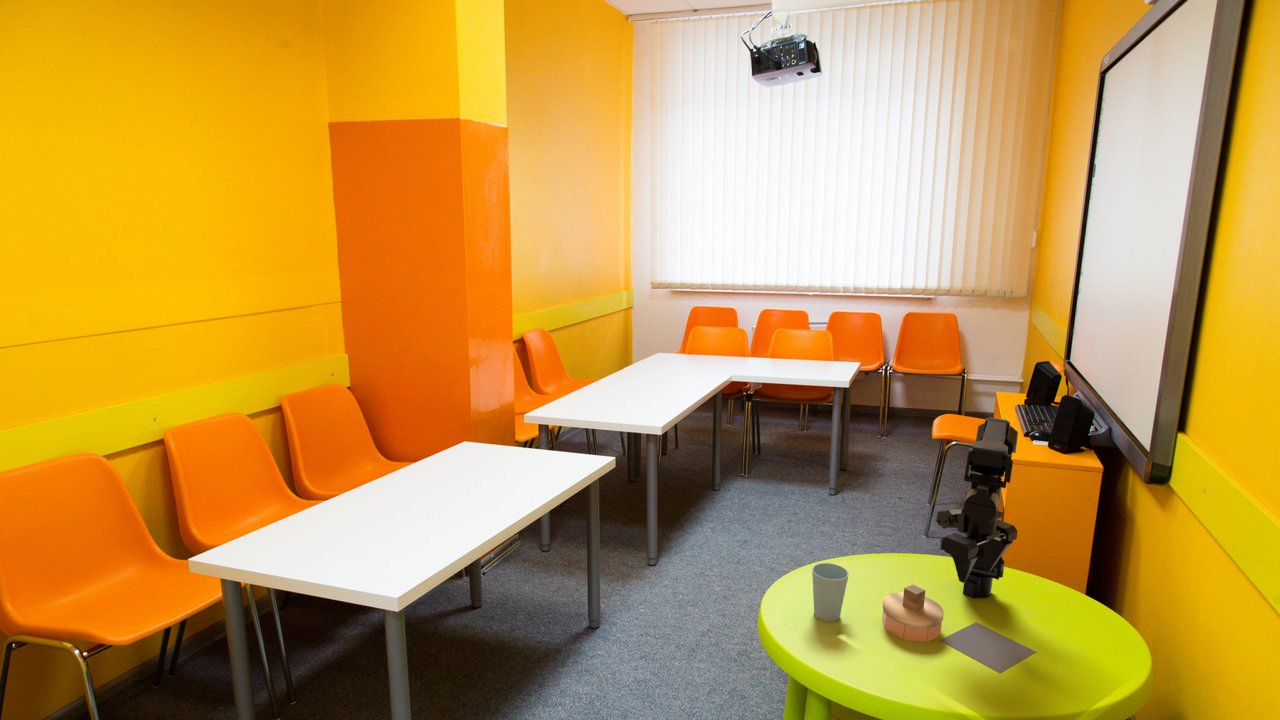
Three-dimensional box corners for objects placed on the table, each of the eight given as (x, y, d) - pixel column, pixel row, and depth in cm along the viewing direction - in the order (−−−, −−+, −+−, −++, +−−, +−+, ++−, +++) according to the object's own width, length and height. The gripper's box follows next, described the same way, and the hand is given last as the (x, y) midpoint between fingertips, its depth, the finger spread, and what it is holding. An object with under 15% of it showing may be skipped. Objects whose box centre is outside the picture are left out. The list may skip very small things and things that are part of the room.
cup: (852, 620, 161) (856, 575, 159) (823, 627, 158) (827, 582, 156) (830, 603, 168) (833, 560, 166) (802, 610, 165) (805, 566, 163)
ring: (904, 612, 164) (906, 593, 164) (948, 635, 156) (951, 616, 155) (871, 626, 158) (873, 607, 158) (916, 652, 150) (918, 631, 149)
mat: (975, 627, 159) (976, 621, 159) (1035, 657, 149) (1036, 651, 148) (938, 645, 152) (939, 640, 152) (999, 678, 141) (1000, 673, 141)
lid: (906, 592, 164) (908, 570, 163) (955, 616, 155) (957, 593, 154) (870, 607, 158) (872, 584, 157) (919, 633, 148) (922, 609, 147)
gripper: (973, 484, 163) (965, 550, 166) (920, 501, 153) (913, 571, 156) (1022, 501, 154) (1013, 571, 157) (970, 520, 144) (962, 594, 147)
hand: (974, 576), depth 154 cm, fingers open, 9 cm apart
